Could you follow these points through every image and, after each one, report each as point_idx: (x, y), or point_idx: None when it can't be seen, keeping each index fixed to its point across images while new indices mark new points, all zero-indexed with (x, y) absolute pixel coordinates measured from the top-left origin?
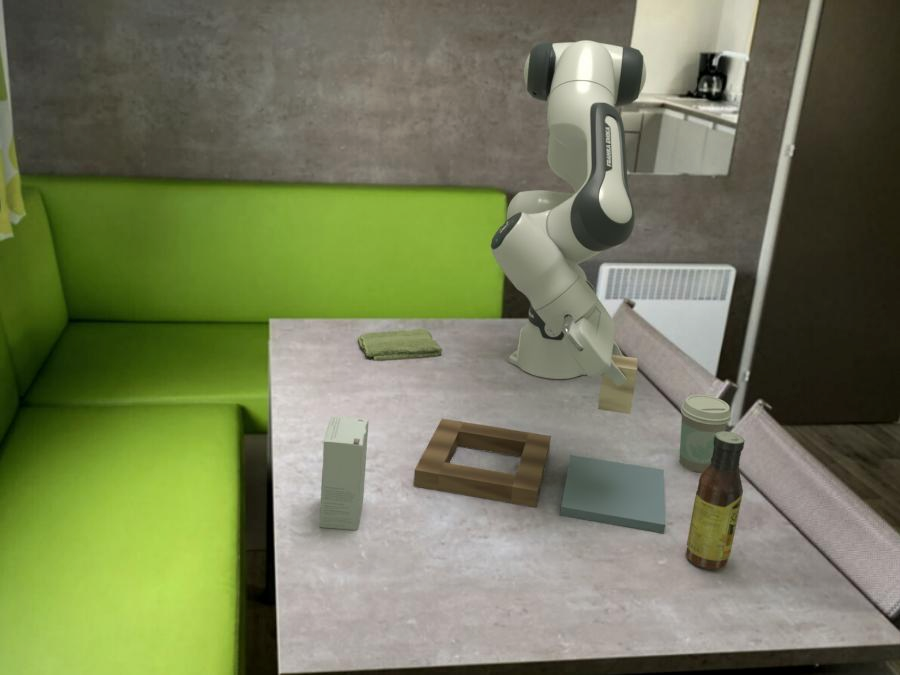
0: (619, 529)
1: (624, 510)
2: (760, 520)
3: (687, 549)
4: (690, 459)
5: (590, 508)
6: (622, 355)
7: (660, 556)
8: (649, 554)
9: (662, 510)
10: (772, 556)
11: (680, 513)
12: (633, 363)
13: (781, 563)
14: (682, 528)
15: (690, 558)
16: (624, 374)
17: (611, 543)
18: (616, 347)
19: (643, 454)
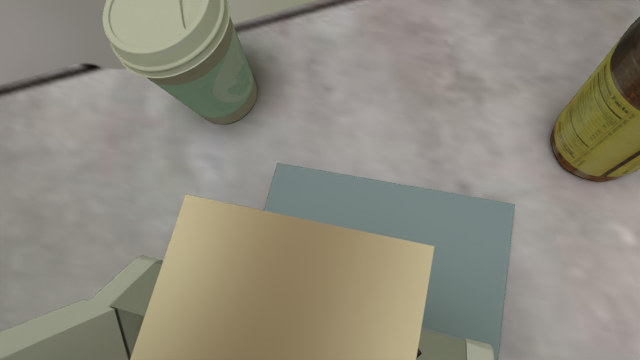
0: (514, 304)
1: (471, 286)
2: (419, 25)
3: (605, 177)
4: (242, 102)
5: None
6: (108, 299)
7: (606, 234)
8: (604, 256)
9: (453, 198)
10: (542, 29)
11: (420, 160)
12: (293, 249)
13: (563, 20)
14: (479, 167)
15: (619, 176)
16: (433, 351)
17: (582, 336)
18: (22, 355)
19: (190, 189)
